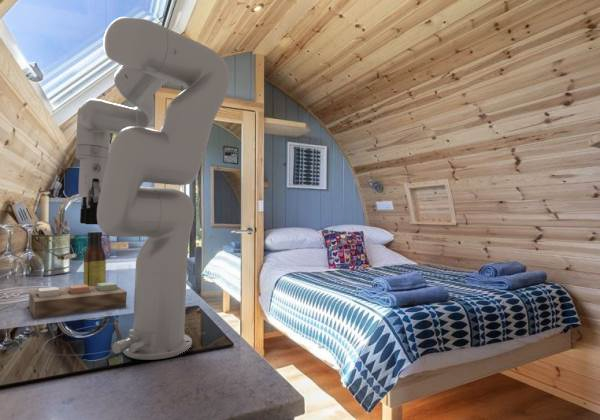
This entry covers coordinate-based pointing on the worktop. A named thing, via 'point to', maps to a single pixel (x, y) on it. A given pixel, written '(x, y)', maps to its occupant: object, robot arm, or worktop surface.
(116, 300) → the button panel
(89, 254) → the sauce bottle
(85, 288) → the terracotta button
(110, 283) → the sage button
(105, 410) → the worktop surface
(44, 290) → the cream button
